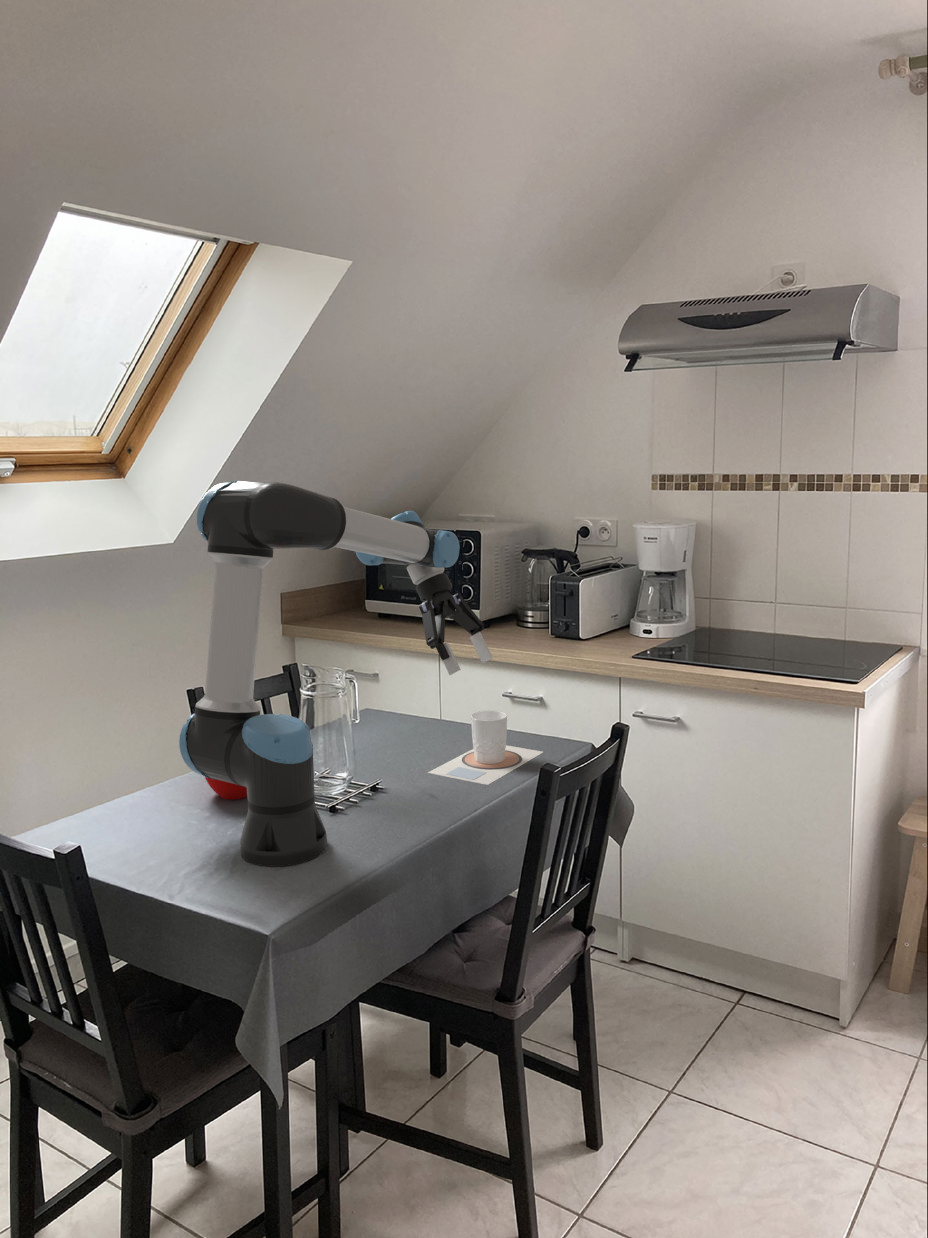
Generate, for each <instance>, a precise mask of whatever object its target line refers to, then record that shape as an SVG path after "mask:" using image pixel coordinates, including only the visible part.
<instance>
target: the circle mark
mask: <svg viewBox="0 0 928 1238" xmlns="http://www.w3.org/2000/svg"><path fill="white" fill-rule="evenodd" d="M521 761H522V757H521V756H520V755H519V754H517V753H515V752H511V751H507V750H505V760H504V761H503V762H500V763H497V764H482V763H478V762H477V761H475V759H474V752H471V753H468V754H466V755H465V756H463V758H462V762H463V763H464V764H465V765H467V766H469V767H473V768H478V769H489V770H492V769H504V768H509V767H513V766H515V765H518V764H519V763H520V762H521Z"/></svg>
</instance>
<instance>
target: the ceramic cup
mask: <svg viewBox="0 0 928 1238" xmlns="http://www.w3.org/2000/svg"><path fill="white" fill-rule="evenodd" d="M204 779H205V780H206V782H207V784H208V785H209V788H211V790H212V791H213V792H214V793H215V794H217V795H218V797H219V798H222V799H224V800H240V799H244V798H247V788H246V787H244V786H240V785H236V784H233V783H229V782H225V781H221V780H217V779H210V778H207V777H205V776H204Z"/></svg>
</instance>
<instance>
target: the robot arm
mask: <svg viewBox="0 0 928 1238" xmlns="http://www.w3.org/2000/svg"><path fill="white" fill-rule="evenodd" d="M196 525H197V529H198V531H199V532H200V534H201V535H200V536H201V537H202V538H203V539H204V540H205V541H206V542H207V553H206V554H207V555H208V556H209V558H210V559H211V560H212V561H213V563H214V573H213V574H214V575H213V586H212V587H213V588H212V599H211V600H212V601H211V611H210V613H211V615H210V626H209V639H208V650H207V662H206V663H207V664H206V676H205V689H204V695H203V697H202V698H200V700H198V701H197V702H196V703H195V708H194V713H192V714H191V715H190V716H189V717H188V718H187V719H186V723H184V724H183V725H182V726H181V729H180V733H179V739H178V740H179V741H178V743H179V744H178V745H179V747H178V748H179V752H180V755H181V758H182V760H183V762H184V763H185V765H186V766H187V767H188V768H189V769H190V770H191V771H192V772H194V773H196V774H198V775H201V776H203V777H204V778H205V777H207V778H210V779H217V780H221V781H225V782H229V783H233V784H236V785H240V786H244V787H246V788H247V797H246V799H247V814H246V817H245V821H244V825H243V827H242V831H241V837H240V840H239V841H240V842H239V843H240V846H239V847H240V855H241V857H242V858H243V859H244V860H245V861H247V862H249V863H251V864H254V865H258V866H264V867H285V866H293V865H298V864H302V863H305V862H308V861H310V860H313V859H315V858H317V857H319V856H320V855H322V854H323V853H324V852H325V851H326V849H327V847H328V837H327V836H328V835H327V830H326V828H325V826H324V823H323V820H322V818H321V816H320V813H319V811H318V808H317V805H316V796H315V775H314V774H315V770H314V744H313V741H312V736H311V735H312V734H311V730H310V727H309V725H308V724H307V723H306V722H304V721H303V720H302V719H299V718H298V717H296V716H291V715H290V714H289V715H288V714H283V713H281V714H274V713H267V714H266V713H265V714H261V706H260V705H259V704H258V703H257V702H256V700H255V699H254V690H255V689H254V688H255V681H256V680H255V677H256V676H255V675H256V665H257V664H256V663H257V654H258V642H259V629H260V614H261V602H262V591H263V581H264V580H263V577H264V569H265V567H266V566H267V565H268V564H269V563H270V562H272V561H273V559H274V549H275V550H280V549H281V550H283V549H285V550H287V549H313V550H314V549H315V550H320V551H330V550H333V549H335V548H338V549H343V550H347V551H351V552H352V551H353V552H355V554H356V557H357V558H358V560H359V561H360V562H361V563H362V564H364V565H366V566H379V565H381V564H390V565H400V566H401V565H402V566H403V565H404V567H405V568H406V570H407V572H408V575H409V578H410V580H411V581H412V583H413V584H414V585H416V586H415V591H416V593H417V594H418V597H419V599H420V601H421V602H422V603H420V604H419V605H418V608H419V611H420V613H421V616H422V623H423V630H424V631H423V632H424V637H425V642H426V643H425V644H426V645H427V647H430V649H431V650H433V649H435V648H436V649H435V650H436V652H437V653H438V655H439V657H440V660H441V661H442V662H443V664H444V667H445V669H446V671H447V674H448V675H449V676H452V675H453V674H456V673H457V672H459V671H461V667H460V665H459V663H458V661H457V659H456V657H455V655H454V653H453V650H452V648H451V646H450V644H449V642H448V641H445V630H446V624H445V623H446V619H450V620H453V621H455V623H457V624H458V625H460V626H461V627H462V628H463V629H464V630H465V631H466V632H467V633H468V634H470V635H471V636H470V637H469V639H470V642H471V643H472V645H473V647H474V650H475V652H476V654H477V656H478V657H479V658H478V659H479V660H480V662H481V664H485V663H486V662H488V661H490V660H492V659H494V657H493V655H492V653H491V651H490V649H489V646H488V645H487V642H486V640H485V638H484V636H483V634H482V631H484V629H485V624H484V622H482V621H481V619H480V618H479V617H478V615H476V613H475V612H474V610H473V609H472V608H471V607H470V606H469V605H468V603H467V602H466V601H465V600H464V598H463V595H462V594H461V593H460V592H457V593H455V594H454V595H452V594H451V590H452V588H453V584H452V582H451V580H450V579H449V578H450V577H449V576H448V574H447V573H445V568H446V569H447V568H450V567H452V566H454V565H455V564H456V563H457V561H458V558H459V555H460V549H461V548H460V541H459V539H458V536H457V535H456V534H455V533H454V532H452V531H450V530H449V531H447V530H443V529H439V530H438V529H431V528H426V526H425V524H424V523H423V522H422V520H421V518H420V517H419V514H418V513H417V512H415V510H407V511H406V510H405V511H404V512H401V513H399V514H396V515H395V516H393V517H391V518H388V517H386V516H385V517H384V516H381V515H376V514H372V513H369V512H365V511H361V510H357V509H355V508H354V509H353V508H350V507H346V506H344V504H343V503H342V502H341V501H340V500H338V499H337V498H334V497H330V496H327V495H325V494H321V493H318V492H315V491H313V490H309V489H305V488H303V487H299V486H296V485H293V484H290V483H285V482H278V481H277V482H276V481H275V482H264V481H263V482H261V481H242V480H234V481H228V482H227V481H226V482H221V483H217V484H215V485H214V486H212V487H211V488H210V489H209V490H208V491H206V492H205V493H204V494H203V496H202V498H201V500H200V502H199V504H198V507H197V510H196Z"/></svg>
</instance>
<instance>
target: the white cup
mask: <svg viewBox="0 0 928 1238" xmlns="http://www.w3.org/2000/svg"><path fill="white" fill-rule="evenodd" d="M470 721H471V722H470V724H471V736H472V737H471V738H472V739H471V740H472V747H473V748H472V749H474V759H475V761H477V762H478V763H482V764H497V763H500V762H503V761H504V760H505V748H506V745H507V735H508V734H507V733H508V732H507V731H508V715H507V713H506V712H503V711H499V710H480V711H476V712H473V713H471V715H470Z"/></svg>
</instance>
